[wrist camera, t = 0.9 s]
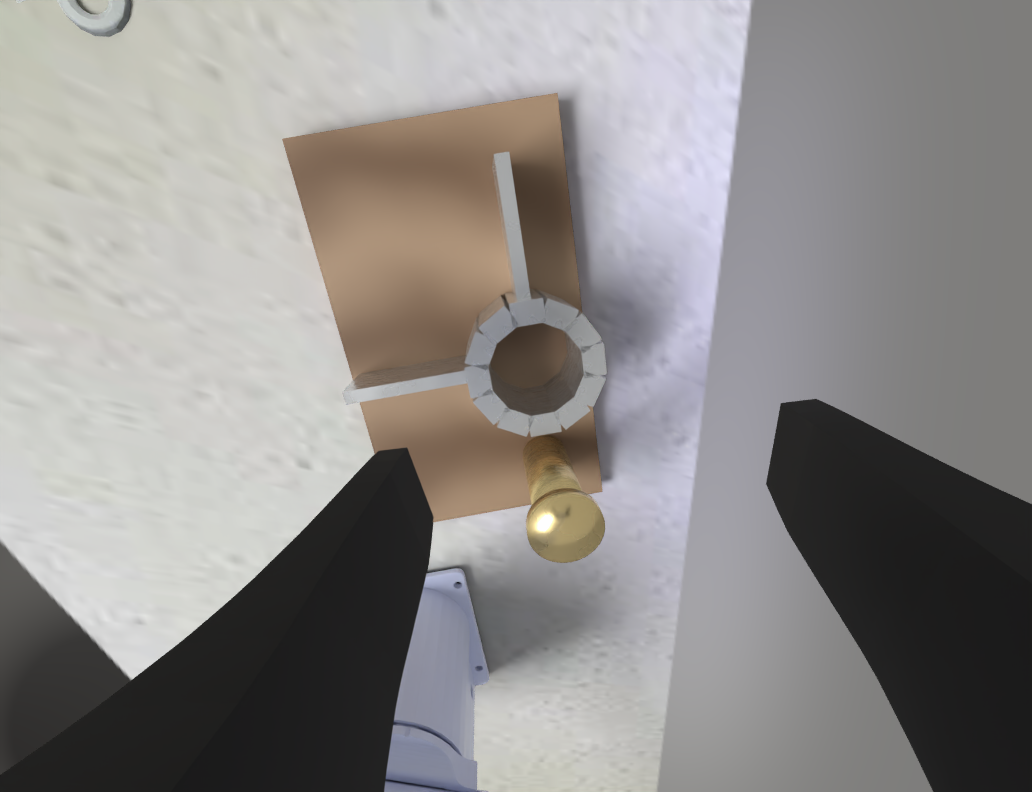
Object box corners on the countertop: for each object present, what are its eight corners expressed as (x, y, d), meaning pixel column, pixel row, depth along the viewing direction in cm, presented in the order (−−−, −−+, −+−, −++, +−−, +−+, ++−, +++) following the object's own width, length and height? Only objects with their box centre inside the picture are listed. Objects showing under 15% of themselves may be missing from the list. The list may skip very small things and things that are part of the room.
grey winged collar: (591, 394, 24) (611, 422, 20) (376, 432, 24) (356, 468, 20) (564, 154, 20) (583, 133, 17) (308, 197, 20) (268, 186, 16)
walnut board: (598, 482, 27) (602, 491, 26) (399, 518, 27) (396, 528, 26) (553, 100, 21) (557, 93, 20) (291, 143, 20) (282, 138, 19)
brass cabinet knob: (575, 474, 26) (608, 555, 19) (520, 484, 26) (533, 568, 19) (568, 423, 25) (601, 489, 18) (511, 433, 25) (521, 503, 18)
